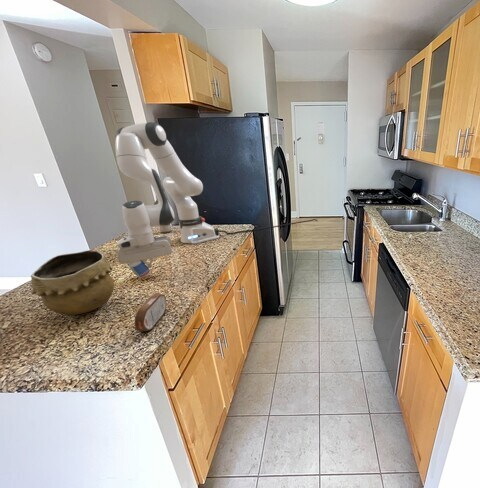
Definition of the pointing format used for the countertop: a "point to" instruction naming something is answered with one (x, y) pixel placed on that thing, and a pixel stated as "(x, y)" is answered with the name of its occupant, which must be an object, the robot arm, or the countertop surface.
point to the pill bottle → (139, 268)
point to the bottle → (164, 227)
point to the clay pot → (74, 282)
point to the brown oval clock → (150, 312)
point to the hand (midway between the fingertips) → (149, 267)
